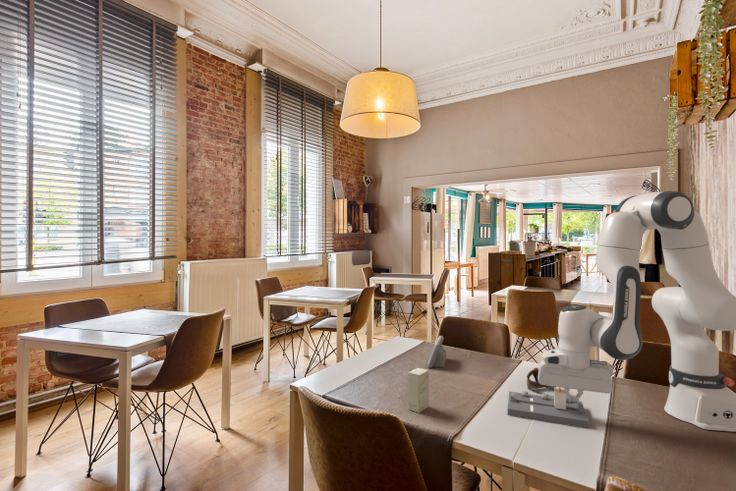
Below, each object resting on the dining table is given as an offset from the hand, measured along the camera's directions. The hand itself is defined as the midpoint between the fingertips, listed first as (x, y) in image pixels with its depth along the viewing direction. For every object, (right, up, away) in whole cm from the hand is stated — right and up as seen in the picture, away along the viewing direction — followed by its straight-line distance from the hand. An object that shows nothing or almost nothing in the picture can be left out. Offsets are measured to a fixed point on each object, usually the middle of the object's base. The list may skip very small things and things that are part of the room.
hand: (573, 402), depth 118 cm
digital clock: (-34, -3, +50) cm, 60 cm away
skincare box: (-47, -5, +6) cm, 48 cm away
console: (-7, -4, +3) cm, 9 cm away
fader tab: (-3, -2, +2) cm, 4 cm away
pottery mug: (-1, -4, +21) cm, 22 cm away
